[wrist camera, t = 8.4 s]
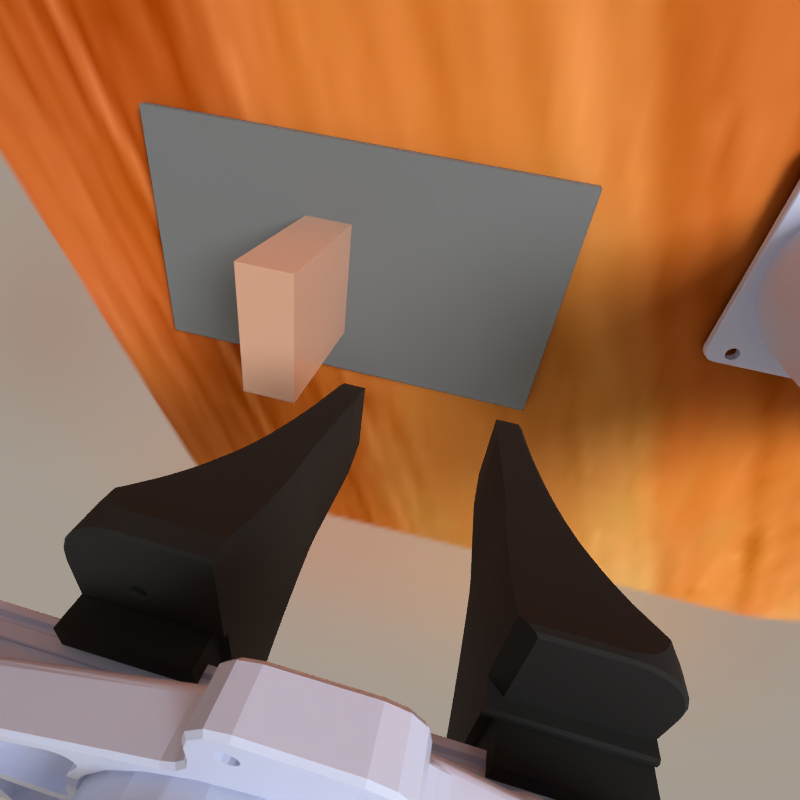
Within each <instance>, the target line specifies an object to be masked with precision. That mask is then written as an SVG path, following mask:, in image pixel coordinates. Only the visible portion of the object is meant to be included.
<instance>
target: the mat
mask: <svg viewBox="0 0 800 800" xmlns="http://www.w3.org/2000/svg"><path fill="white" fill-rule="evenodd" d="M139 106H140V112H141V119H142V125H143V131H144V137H145V143H146V149H147V156H148V162H149V168H150V174H151V180H152V187H153V193H154V199H155V205H156V211H157V218H158V224H159V230H160V236H161V242H162V248H163V255H164V261H165V267H166V273H167V279H168V286H169V292H170V298H171V304H172V310H173V316H174V323H175V329H176V330H180V331H185V332H189V333H193V334H197V335H202V336H206V337H210V338H215V339H219V340H223V341H227V342H232V343H236V344H240V337H239V324H238V310H237V297H236V284H235V271H234V261H235V260H236V259H238V258H239V257H241V256H243V255H244V254H246V253H247V252H249V251H250V250H252V249H254V248H255V247H257V246H258V245H260V244H261V243H263V242H265V241H266V240H268V239H269V238H271V237H272V236H274V235H275V234H277V233H279V232H280V231H282V230H283V229H285V228H286V227H288V226H290V225H291V224H293V223H294V222H296V221H297V220H299V219H301V218H302V217H304V216H305V215H306V216H311V217H316V218H321V219H326V220H331V221H336V222H341V223H346V224H351V225H352V229H351V243H350V257H349V272H348V286H347V301H346V315H345V330H344V334H343V335H342V336H341V338H340V339H339V341H338V342H337V343H336V345H335V346H334V348H333V349H332V351H331V352H330V353H329V355H328V356H327V358H326V359H325V360H324V362H323V363H322V364H325V365H330V366H334V367H338V368H342V369H347V370H351V371H355V372H360V373H364V374H368V375H372V376H377V377H381V378H385V379H389V380H394V381H398V382H402V383H406V384H411V385H415V386H419V387H424V388H428V389H432V390H436V391H441V392H445V393H449V394H453V395H458V396H462V397H466V398H470V399H475V400H479V401H483V402H488V403H492V404H496V405H500V406H505V407H509V408H513V409H517V410H522V411H523V410H524V407H525V404H526V401H527V398H528V396H529V393H530V390H531V387H532V384H533V382H534V379H535V376H536V373H537V370H538V368H539V365H540V362H541V359H542V356H543V354H544V351H545V348H546V345H547V342H548V340H549V337H550V334H551V331H552V328H553V326H554V323H555V320H556V317H557V314H558V311H559V309H560V306H561V303H562V300H563V297H564V295H565V292H566V289H567V286H568V283H569V281H570V278H571V275H572V272H573V269H574V267H575V264H576V261H577V258H578V255H579V253H580V250H581V247H582V244H583V241H584V239H585V236H586V233H587V230H588V227H589V224H590V222H591V219H592V216H593V213H594V210H595V208H596V205H597V202H598V199H599V196H600V194H601V191H602V187H601V186H599V185H594V184H588V183H583V182H577V181H572V180H566V179H561V178H555V177H550V176H545V175H539V174H534V173H528V172H523V171H517V170H512V169H506V168H501V167H496V166H490V165H485V164H479V163H474V162H468V161H463V160H457V159H452V158H447V157H441V156H436V155H430V154H425V153H419V152H414V151H409V150H403V149H398V148H392V147H387V146H381V145H376V144H370V143H365V142H360V141H354V140H349V139H343V138H338V137H332V136H327V135H321V134H316V133H311V132H305V131H300V130H294V129H289V128H283V127H278V126H272V125H267V124H262V123H256V122H251V121H245V120H240V119H234V118H229V117H223V116H218V115H213V114H207V113H202V112H196V111H191V110H185V109H180V108H174V107H169V106H164V105H158V104H153V103H139Z"/></svg>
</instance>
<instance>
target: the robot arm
mask: <svg viewBox="0 0 800 800" xmlns="http://www.w3.org/2000/svg"><path fill="white" fill-rule="evenodd" d="M730 349H736V352H735V353H734V354H732V355H725V353H726V352H727V351H728V350H730ZM703 353H704V355H705V356H706V358H707V359H708V360H710V361H713V362H717V363H722V364H726V365H731V366H736V367H740V368H745V369H749V370H754V371H759V372H763V373H768V374H773V375H777V376H782V377H787V378H791V379H793V381H794V382H795V383H796V384H797V385H798V386H799V387H800V180H799V181H798V183H797V185H796V186H795V188H794V190H793V192H792V193H791V195H790V197H789V199H788V200H787V202H786V204H785V206H784V207H783V209H782V211H781V212H780V214H779V216H778V218H777V219H776V221H775V223H774V225H773V226H772V228H771V230H770V231H769V233H768V235H767V237H766V238H765V240H764V242H763V244H762V245H761V247H760V249H759V251H758V252H757V254H756V256H755V257H754V259H753V261H752V263H751V264H750V266H749V268H748V270H747V271H746V273H745V275H744V276H743V278H742V280H741V282H740V283H739V285H738V287H737V289H736V290H735V292H734V294H733V296H732V297H731V299H730V301H729V302H728V304H727V306H726V308H725V309H724V311H723V313H722V315H721V316H720V318H719V320H718V322H717V323H716V325H715V327H714V328H713V330H712V332H711V334H710V335H709V337H708V339H707V341H706V342H705V344H704V346H703ZM364 392H365V388H362V387H358V386H353V385H349V384H345V383H344V384H342V385H340V386H339V387H338V388H336V389H335V390H334V391H332V392H331V393H330V394H329V395H327V396H326V397H325V398H323V399H322V400H321V401H319V402H318V403H317V404H315V405H314V406H312V407H311V408H310V409H308V410H307V411H305V412H304V413H302V414H301V415H299V416H298V417H297V418H295V419H294V420H292V421H290V422H289V423H287V424H286V425H284V426H282V427H281V428H279V429H277V430H276V431H274V432H273V433H271V434H269V435H267V436H266V437H264V438H262V439H260V440H258V441H256V442H254V443H252V444H250V445H248V446H246V447H244V448H242V449H240V450H238V451H235V452H233V453H230V454H228V455H225V456H223V457H220V458H218V459H215V460H213V461H210V462H208V463H205V464H202V465H200V466H197V467H194V468H191V469H188V470H185V471H181V472H178V473H174V474H171V475H168V476H164V477H160V478H156V479H152V480H148V481H144V482H140V483H135V484H131V485H127V486H122V487H117V488H115V489H113V490H112V491H111V492H110V493H109V494H108V495H107V496H106V497H105V498H104V499H102V500H101V501H100V502H99V503H98V504H97V505H96V506H95V508H93V509H92V510H91V512H89V513H88V514H87V516H86V517H85V518H84V519H83V520H82V521H81V522H80V523H79V524H78V525H77V526H76V527H75V528H74V529H73V530H72V531H71V532H70V533H69V534H68V535H67V536H66V537H65V542H64V551H65V555H66V558H67V561H68V563H69V566H70V568H71V570H72V572H73V575H74V577H75V579H76V581H77V583H78V585H79V587H80V590H81V592H82V595H81V596H80V597H79V598H78V599H77V601H76V602H75V603H74V604H73V605H72V607H71V608H70V609H69V610H68V611H67V612H66V614H65V615H64V616H63V617H62V618H61V619H59V618H56V617H53V616H50V615H47V614H43V613H40V612H37V611H33V610H30V609H27V608H24V607H21V606H17V605H14V604H11V603H8V602H4V601H1V600H0V797H3V798H5V799H7V800H660V795H659V790H658V785H657V779H656V774H655V768H654V767H658V766H659V765H660V761H661V758H660V753H659V748H658V742H657V739H658V738H659V737H660V736H661V735H662V734H664V733H665V732H666V731H667V730H668V729H669V728H670V727H672V726H673V725H674V724H675V723H676V722H677V721H678V720H679V719H680V718H681V717H682V716H683V715H684V713H685V712H686V711H687V709H688V704H689V696H688V692H687V688H686V684H685V681H684V676H683V673H682V670H681V666H680V663H679V661H678V658H677V656H676V653H675V650H674V647H673V644H672V642H671V640H670V639H669V638H668V637H667V636H666V635H665V634H664V633H663V632H662V631H661V630H660V629H659V628H657V626H655V625H654V624H653V623H652V622H651V621H650V620H649V619H648V618H647V617H646V616H645V615H644V614H643V613H642V612H640V611H639V610H638V609H637V608H636V607H635V606H634V605H633V604H632V603H631V602H630V601H629V600H628V599H627V598H626V596H624V594H622V592H621V591H620V590H619V589H618V588H617V587H616V586H615V585H614V584H613V583H612V582H611V580H610V579H609V578H608V577H607V576H606V575H605V574H604V572H603V571H602V570H601V569H600V568H599V566H598V565H597V564H596V563H595V561H594V560H593V559H592V558H591V557H590V555H589V554H588V553H587V552H586V550H585V549H584V548H583V546H582V545H581V544H580V542H579V541H578V540H577V538H576V537H575V535H574V534H573V532H572V531H571V529H570V528H569V526H568V525H567V523H566V522H565V520H564V519H563V517H562V515H561V514H560V512H559V510H558V509H557V507H556V505H555V503H554V502H553V500H552V498H551V496H550V494H549V492H548V490H547V489H546V487H545V485H544V483H543V480H542V478H541V476H540V474H539V472H538V470H537V468H536V466H535V463H534V461H533V459H532V456H531V454H530V451H529V449H528V446H527V443H526V441H525V438H524V435H523V432H522V429H521V427H520V426H519V425H518V424H513V423H509V422H505V421H501V420H496V423H495V426H494V429H493V432H492V435H491V438H490V441H489V444H488V448H487V451H486V454H485V457H484V460H483V463H482V466H481V470H480V473H479V478H478V484H477V490H476V496H475V502H474V515H473V538H472V563H471V582H470V593H469V600H468V607H467V614H466V621H465V628H464V635H463V641H462V648H461V654H460V661H459V667H458V673H457V679H456V685H455V692H454V698H453V704H452V710H451V716H450V722H449V728H448V733H447V738H445V737H442V736H438V735H435V734H432V733H430V728H429V727H428V725H427V724H426V722H425V721H424V720H423V719H421V718H420V717H419V716H418V715H417V714H416V713H415V712H413V711H412V710H411V709H410V708H408V707H405V706H403V705H401V704H399V703H396V702H394V701H392V700H390V699H387V698H385V697H382V696H378V695H375V694H371V693H368V692H365V691H362V690H359V689H355V688H352V687H349V686H345V685H342V684H339V683H336V682H332V681H329V680H326V679H322V678H319V677H316V676H313V675H309V674H306V673H303V672H299V671H296V670H293V669H290V668H286V667H283V666H280V665H276V664H273V663H270V662H267V659H268V656H269V653H270V650H271V648H272V645H273V642H274V639H275V636H276V634H277V631H278V628H279V626H280V623H281V620H282V617H283V615H284V612H285V609H286V607H287V604H288V602H289V599H290V596H291V594H292V591H293V588H294V586H295V583H296V581H297V578H298V576H299V573H300V571H301V568H302V566H303V563H304V561H305V558H306V556H307V553H308V551H309V548H310V546H311V544H312V542H313V540H314V538H315V535H316V533H317V531H318V529H319V528H320V526H321V524H322V522H323V520H324V518H325V516H326V514H327V512H328V511H329V509H330V507H331V505H332V503H333V501H334V499H335V497H336V495H337V493H338V492H339V490H340V488H341V486H342V484H343V482H344V480H345V478H346V476H347V474H348V472H349V469H350V467H351V464H352V461H353V459H354V456H355V453H356V450H357V448H358V445H359V439H360V429H361V420H362V411H363V402H364Z"/></svg>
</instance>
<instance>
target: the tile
mask: <svg viewBox="0 0 800 800" xmlns="http://www.w3.org/2000/svg"><path fill="white" fill-rule="evenodd" d="M351 229H352V225H351V224H346V223H341V222H336V221H331V220H326V219H321V218H316V217H311V216H306V215H305V216H304V217H302V218H301V219H299V220H297V221H296V222H294V223H293V224H291V225H290V226H288V227H286V228H285V229H283V230H282V231H280V232H279V233H277V234H275V235H274V236H272V237H271V238H269V239H268V240H266V241H265V242H263V243H261V244H260V245H258V246H257V247H255V248H254V249H252V250H250V251H249V252H247V253H246V254H244V255H243V256H241V257H239V258H238V259H236V260H235V261H234V271H235V284H236V297H237V310H238V324H239V337H240V350H241V363H242V376H243V390H244V391H246V392H250V393H254V394H258V395H262V396H266V397H270V398H274V399H278V400H283V401H287V402H291V403H295V401H296V400H297V399H298V397H299V396H300V394H301V393H302V392H303V390H304V389H305V387H306V386H307V384H308V383H309V382H310V380H311V379H312V377H313V376H314V375H315V373H316V372H317V370H318V369H319V367H320V366H321V365H322V363H323V362H324V360H325V359H326V358H327V356H328V355H329V353H330V352H331V351H332V349H333V348H334V346H335V345H336V343H337V342H338V341H339V339H340V338H341V336H342V335H343V334H344V330H345V315H346V301H347V286H348V272H349V257H350V243H351Z"/></svg>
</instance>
